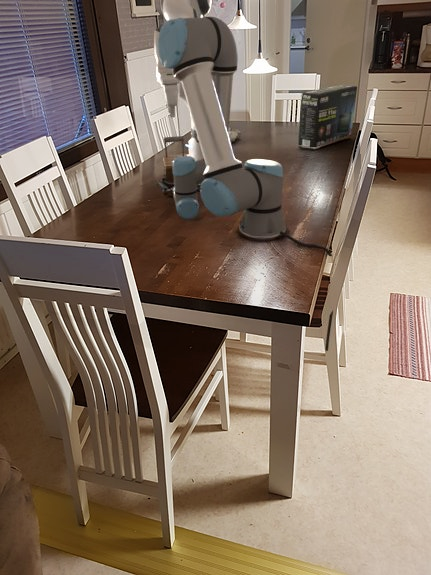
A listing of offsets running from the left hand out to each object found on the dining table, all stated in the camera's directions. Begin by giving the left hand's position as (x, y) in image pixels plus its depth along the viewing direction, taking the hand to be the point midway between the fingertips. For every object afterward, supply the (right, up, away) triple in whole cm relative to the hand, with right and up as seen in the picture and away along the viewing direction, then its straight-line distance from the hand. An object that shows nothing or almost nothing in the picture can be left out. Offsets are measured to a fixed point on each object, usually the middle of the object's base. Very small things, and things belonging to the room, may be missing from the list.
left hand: (171, 114), depth 179 cm
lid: (+1, -17, +5) cm, 18 cm away
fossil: (+22, +15, +79) cm, 83 cm away
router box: (+76, +10, +66) cm, 101 cm away
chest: (+2, -27, +10) cm, 29 cm away
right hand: (+2, -23, +3) cm, 24 cm away
